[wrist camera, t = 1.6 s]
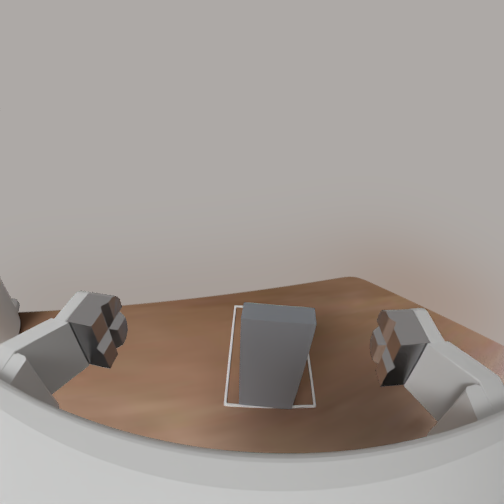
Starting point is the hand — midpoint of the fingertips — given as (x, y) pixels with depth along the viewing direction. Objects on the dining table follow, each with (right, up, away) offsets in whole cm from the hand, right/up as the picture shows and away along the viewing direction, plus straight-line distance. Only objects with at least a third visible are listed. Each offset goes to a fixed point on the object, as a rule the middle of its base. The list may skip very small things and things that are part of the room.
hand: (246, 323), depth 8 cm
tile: (+2, -15, +22) cm, 26 cm away
